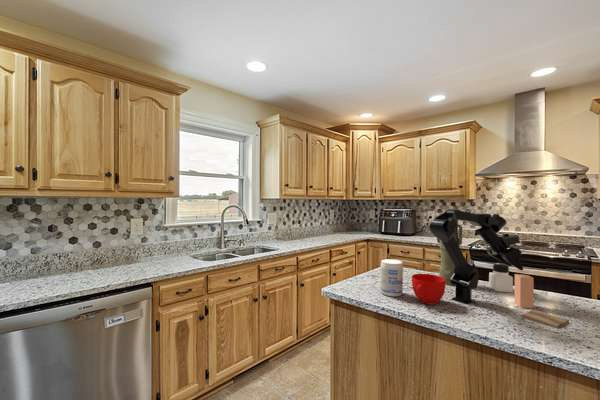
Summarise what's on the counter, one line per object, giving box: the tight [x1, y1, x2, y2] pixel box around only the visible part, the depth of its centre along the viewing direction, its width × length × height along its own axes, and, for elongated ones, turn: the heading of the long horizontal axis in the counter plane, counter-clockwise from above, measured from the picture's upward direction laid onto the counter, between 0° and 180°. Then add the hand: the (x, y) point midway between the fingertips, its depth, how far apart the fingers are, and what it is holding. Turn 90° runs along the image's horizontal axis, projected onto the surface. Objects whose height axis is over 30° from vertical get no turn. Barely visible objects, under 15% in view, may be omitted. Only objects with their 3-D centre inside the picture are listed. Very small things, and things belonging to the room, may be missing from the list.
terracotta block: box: [514, 273, 535, 309], centre depth 113 cm, size 4×4×12 cm
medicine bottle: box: [488, 263, 514, 293], centre depth 133 cm, size 7×7×12 cm
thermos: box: [436, 219, 463, 287], centre depth 143 cm, size 9×12×35 cm
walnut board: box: [520, 309, 570, 329], centre depth 100 cm, size 10×10×1 cm
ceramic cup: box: [411, 273, 446, 305], centre depth 116 cm, size 13×17×10 cm
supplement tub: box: [380, 258, 404, 298], centre depth 127 cm, size 10×10×15 cm
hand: (516, 267), depth 121 cm, fingers open, 9 cm apart
